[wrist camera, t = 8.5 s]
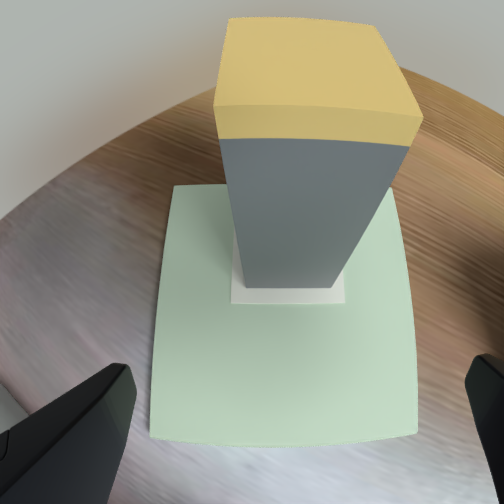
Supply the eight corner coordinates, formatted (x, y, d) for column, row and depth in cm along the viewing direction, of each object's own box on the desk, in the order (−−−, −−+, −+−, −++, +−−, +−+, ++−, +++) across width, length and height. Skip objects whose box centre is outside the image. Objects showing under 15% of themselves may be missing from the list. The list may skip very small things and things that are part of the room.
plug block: (330, 288, 17) (423, 117, 6) (245, 288, 17) (213, 106, 6) (325, 213, 19) (374, 25, 8) (248, 213, 19) (229, 18, 8)
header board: (412, 432, 14) (444, 439, 11) (153, 436, 15) (126, 446, 11) (388, 192, 20) (406, 159, 17) (176, 190, 21) (162, 155, 17)
